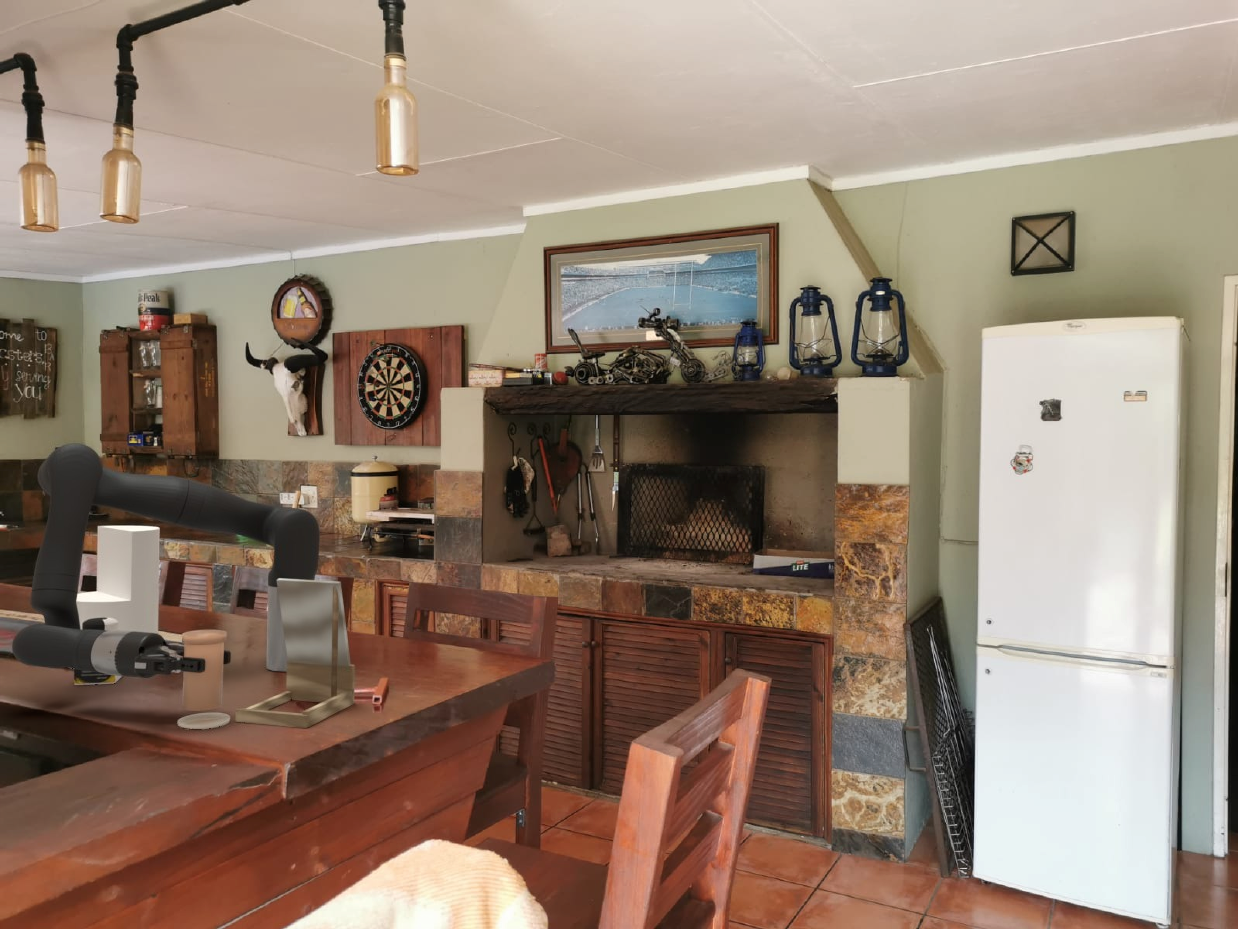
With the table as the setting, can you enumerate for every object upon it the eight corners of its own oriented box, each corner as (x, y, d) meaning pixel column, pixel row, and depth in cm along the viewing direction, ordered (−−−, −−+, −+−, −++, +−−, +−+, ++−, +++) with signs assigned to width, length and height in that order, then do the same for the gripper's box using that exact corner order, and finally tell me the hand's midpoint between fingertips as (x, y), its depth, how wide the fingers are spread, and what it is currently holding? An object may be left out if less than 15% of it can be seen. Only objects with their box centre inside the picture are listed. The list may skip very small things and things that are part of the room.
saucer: (198, 714, 161) (198, 711, 161) (240, 718, 160) (240, 714, 160) (166, 727, 153) (166, 723, 153) (209, 731, 152) (209, 727, 152)
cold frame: (289, 698, 173) (291, 575, 173) (354, 703, 170) (356, 578, 170) (235, 721, 157) (237, 586, 157) (306, 728, 155) (308, 590, 154)
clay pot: (197, 699, 160) (200, 628, 160) (233, 702, 159) (235, 631, 159) (170, 709, 154) (172, 635, 154) (207, 713, 152) (209, 638, 152)
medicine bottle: (73, 686, 179) (74, 622, 179) (83, 677, 186) (84, 616, 185) (115, 684, 181) (116, 621, 180) (124, 675, 187) (125, 615, 187)
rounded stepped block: (136, 649, 212) (138, 524, 212) (172, 661, 201) (174, 529, 201) (51, 660, 199) (53, 527, 199) (84, 674, 188) (86, 533, 187)
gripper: (97, 639, 152) (188, 647, 149) (159, 624, 166) (244, 631, 163) (96, 685, 152) (187, 694, 149) (158, 667, 166) (242, 675, 163)
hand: (216, 661), depth 156 cm, fingers closed on clay pot, 6 cm apart
